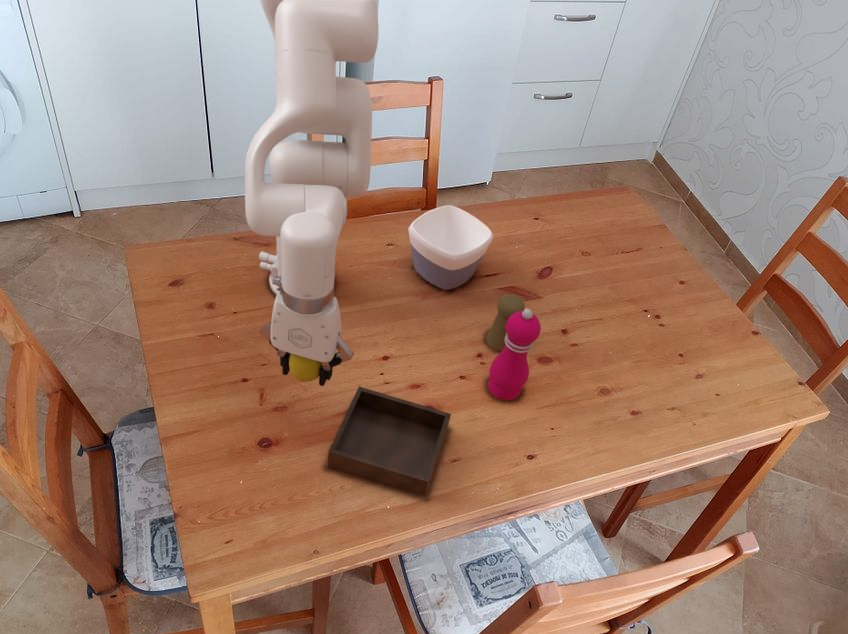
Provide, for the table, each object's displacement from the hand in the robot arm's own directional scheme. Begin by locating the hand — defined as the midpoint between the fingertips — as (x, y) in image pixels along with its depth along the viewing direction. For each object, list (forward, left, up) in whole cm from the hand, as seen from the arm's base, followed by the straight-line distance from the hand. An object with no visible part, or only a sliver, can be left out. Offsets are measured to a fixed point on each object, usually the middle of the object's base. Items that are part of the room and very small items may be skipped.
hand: (306, 373), depth 119 cm
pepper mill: (+32, +18, -10) cm, 38 cm away
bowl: (+13, +46, -10) cm, 49 cm away
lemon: (0, 0, -1) cm, 1 cm away
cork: (+29, +30, -10) cm, 43 cm away
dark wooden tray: (+16, -2, -9) cm, 19 cm away
